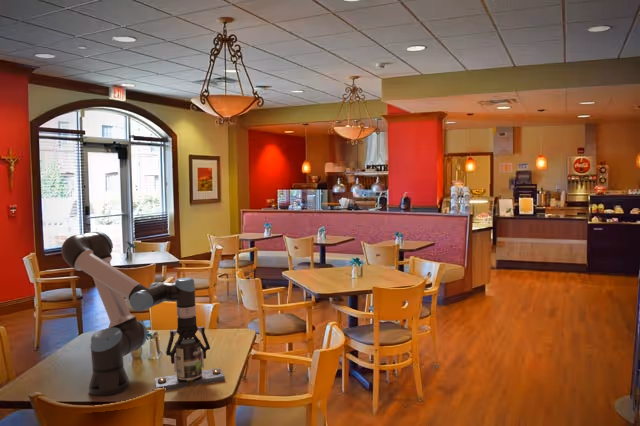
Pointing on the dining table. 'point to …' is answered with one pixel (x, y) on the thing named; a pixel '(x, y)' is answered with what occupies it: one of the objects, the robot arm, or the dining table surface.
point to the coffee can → (188, 359)
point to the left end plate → (170, 382)
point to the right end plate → (210, 376)
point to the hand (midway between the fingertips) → (189, 368)
